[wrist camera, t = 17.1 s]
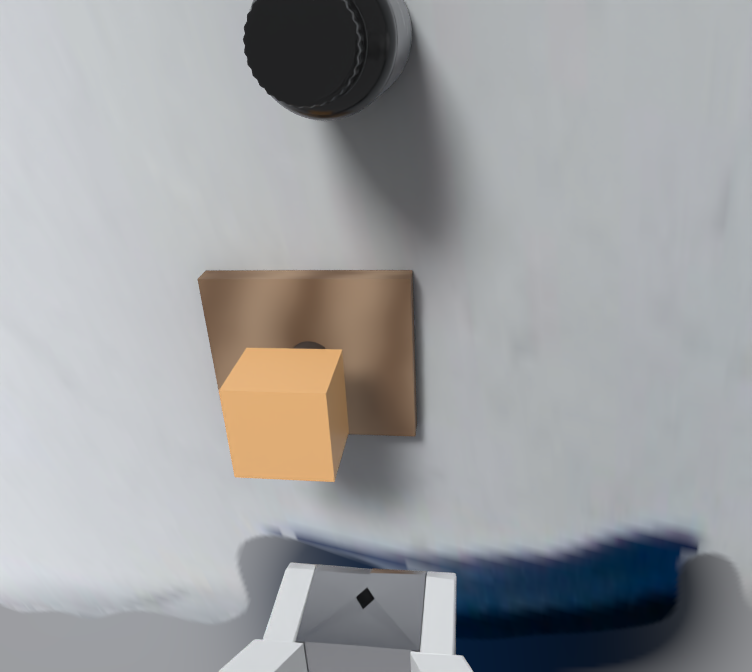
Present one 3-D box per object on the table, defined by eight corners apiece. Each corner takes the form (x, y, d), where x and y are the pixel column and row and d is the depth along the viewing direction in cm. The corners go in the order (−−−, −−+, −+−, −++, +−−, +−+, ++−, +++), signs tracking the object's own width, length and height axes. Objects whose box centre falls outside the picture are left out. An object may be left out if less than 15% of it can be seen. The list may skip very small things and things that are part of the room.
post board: (412, 270, 42) (398, 337, 34) (416, 424, 47) (405, 515, 39) (205, 270, 44) (143, 334, 36) (232, 418, 49) (183, 503, 41)
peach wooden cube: (342, 349, 39) (326, 393, 35) (349, 431, 42) (334, 481, 38) (246, 347, 40) (218, 390, 36) (259, 428, 43) (234, 477, 38)
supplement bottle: (431, -10, 35) (414, -14, 24) (389, 116, 38) (358, 161, 27) (310, -57, 34) (238, -82, 24) (278, 74, 38) (202, 103, 27)
